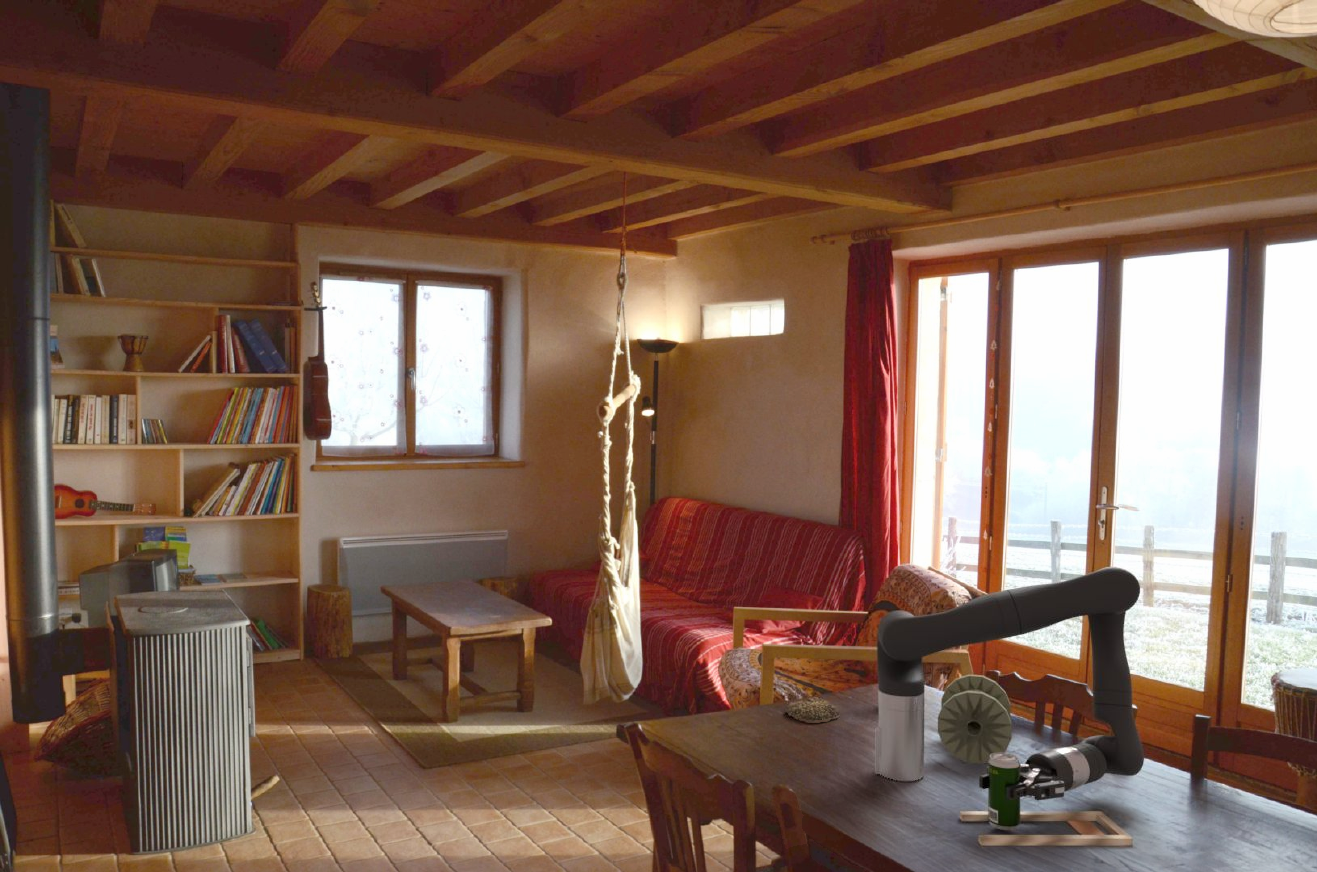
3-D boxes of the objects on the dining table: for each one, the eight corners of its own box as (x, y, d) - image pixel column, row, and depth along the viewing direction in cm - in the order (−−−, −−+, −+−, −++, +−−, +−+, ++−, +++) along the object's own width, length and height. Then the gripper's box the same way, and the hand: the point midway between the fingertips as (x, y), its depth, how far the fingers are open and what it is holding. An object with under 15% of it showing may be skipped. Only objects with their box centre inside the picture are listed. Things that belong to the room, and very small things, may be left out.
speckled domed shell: (804, 726, 238) (805, 706, 238) (778, 713, 249) (778, 693, 249) (849, 720, 243) (849, 700, 243) (822, 707, 255) (822, 688, 255)
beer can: (1007, 833, 172) (1007, 764, 172) (981, 823, 177) (981, 755, 177) (1026, 826, 175) (1026, 758, 175) (1001, 816, 180) (1001, 750, 180)
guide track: (981, 845, 170) (981, 838, 170) (959, 817, 182) (959, 811, 182) (1132, 845, 170) (1132, 838, 170) (1100, 817, 182) (1101, 811, 182)
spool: (1011, 767, 210) (1011, 696, 210) (937, 759, 214) (937, 689, 214) (1010, 743, 225) (1010, 677, 225) (941, 736, 230) (941, 672, 230)
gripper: (1025, 739, 189) (962, 755, 181) (1091, 761, 177) (1027, 779, 168) (1025, 778, 189) (962, 796, 181) (1091, 803, 177) (1027, 823, 169)
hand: (994, 788), depth 175 cm, fingers closed on beer can, 5 cm apart
